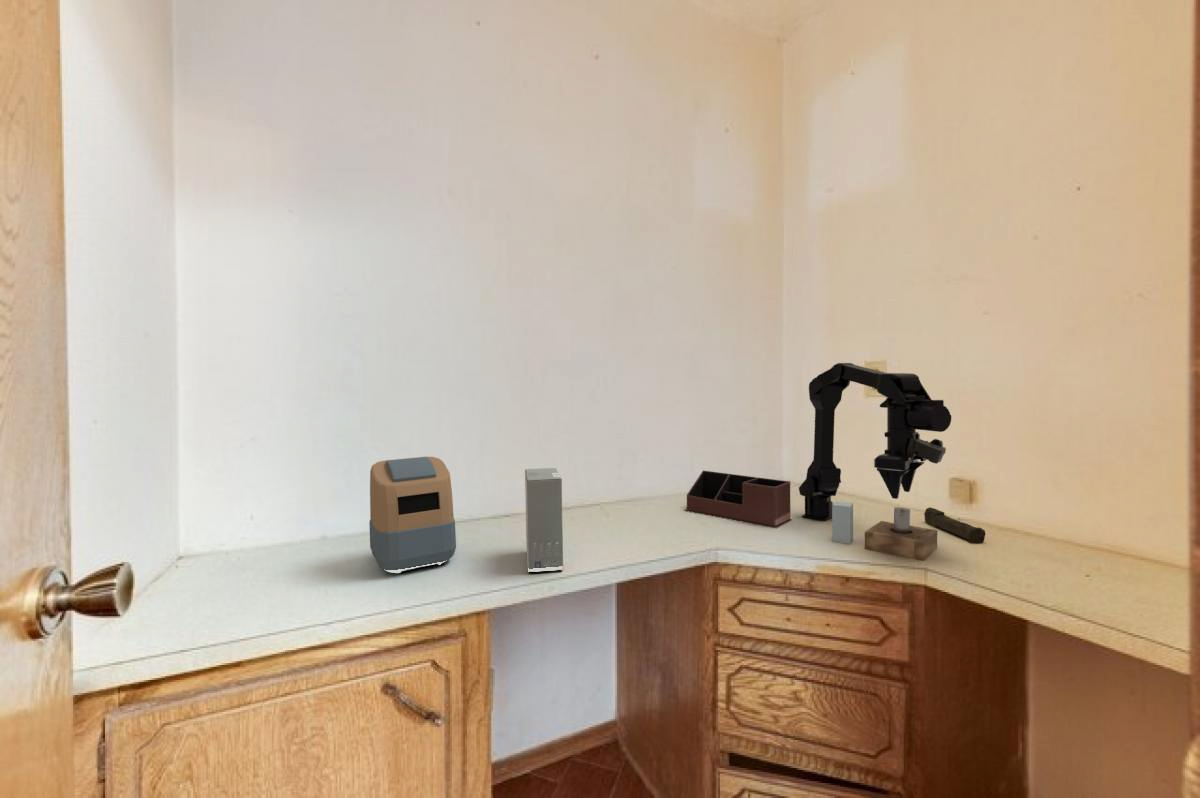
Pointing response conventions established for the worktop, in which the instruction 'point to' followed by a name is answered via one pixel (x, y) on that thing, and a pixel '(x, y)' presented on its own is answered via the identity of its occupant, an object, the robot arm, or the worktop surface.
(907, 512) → the cylinder
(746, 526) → the worktop surface
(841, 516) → the gray rectangular block
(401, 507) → the alarm clock
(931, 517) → the hand tool
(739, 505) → the desk organizer
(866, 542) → the bore block
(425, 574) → the worktop surface
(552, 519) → the hard drive box
